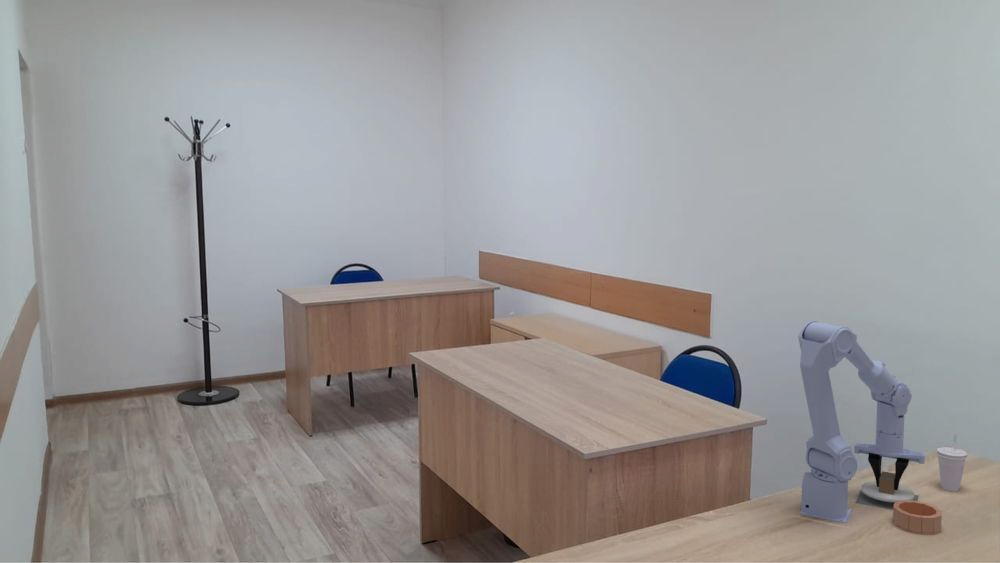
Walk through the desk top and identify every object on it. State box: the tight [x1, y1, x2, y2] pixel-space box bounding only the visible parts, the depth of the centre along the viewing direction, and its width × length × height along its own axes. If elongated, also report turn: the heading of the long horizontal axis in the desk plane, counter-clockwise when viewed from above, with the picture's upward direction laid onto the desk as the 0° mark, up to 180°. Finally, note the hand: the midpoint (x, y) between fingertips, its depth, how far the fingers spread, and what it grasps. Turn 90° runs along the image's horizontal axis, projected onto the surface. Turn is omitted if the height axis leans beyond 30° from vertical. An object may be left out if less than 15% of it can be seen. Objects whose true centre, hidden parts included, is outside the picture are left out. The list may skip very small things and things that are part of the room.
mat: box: [855, 490, 920, 511], centre depth 172 cm, size 12×12×1 cm
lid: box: [860, 470, 915, 503], centre depth 171 cm, size 11×11×4 cm
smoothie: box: [935, 433, 968, 492], centre depth 177 cm, size 6×6×14 cm
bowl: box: [892, 500, 943, 535], centre depth 158 cm, size 9×9×4 cm
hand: (887, 487), depth 171 cm, fingers closed on lid, 3 cm apart
